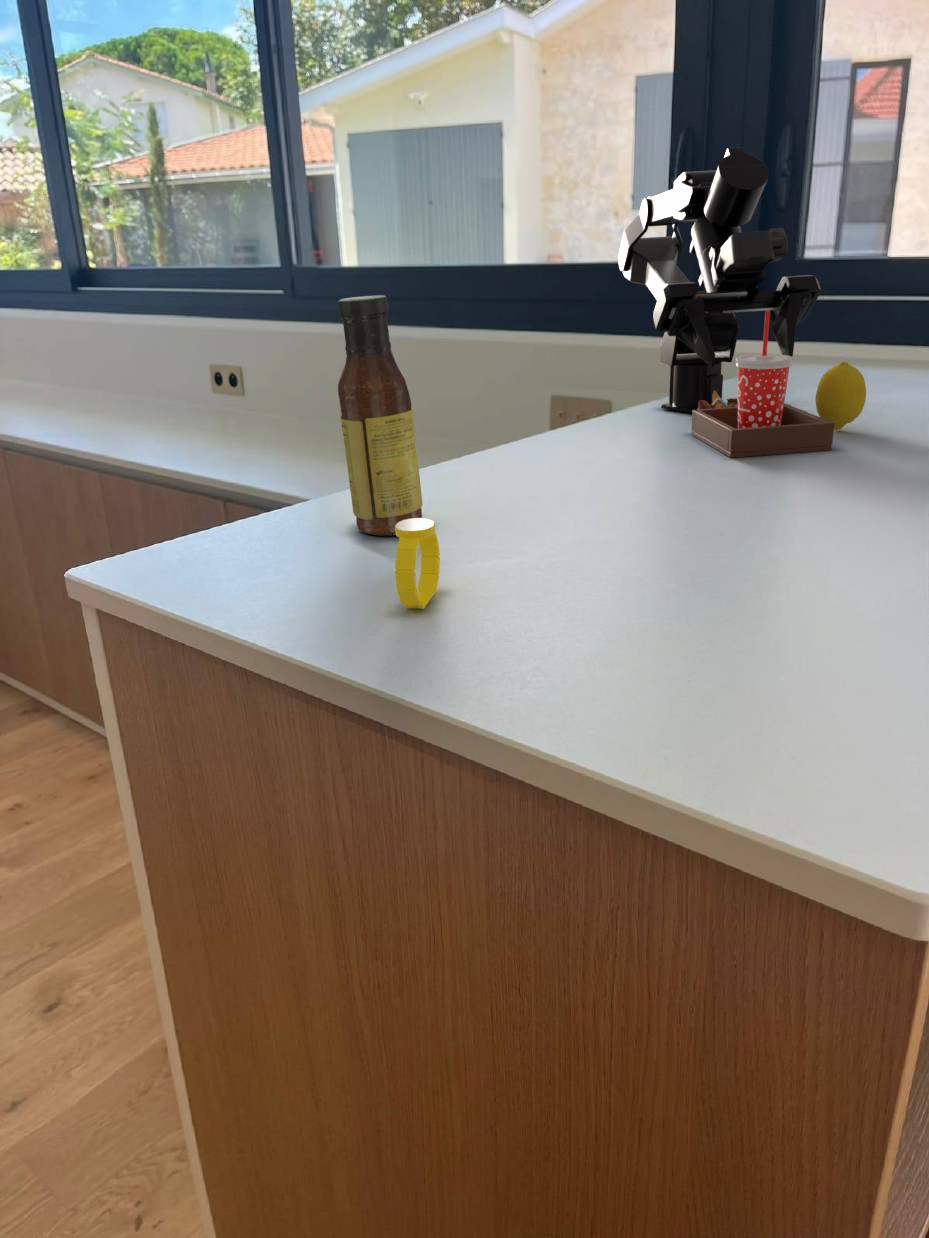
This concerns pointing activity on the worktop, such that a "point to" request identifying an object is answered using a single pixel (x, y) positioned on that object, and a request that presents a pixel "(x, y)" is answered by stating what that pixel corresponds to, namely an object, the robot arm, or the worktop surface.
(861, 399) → the lemon
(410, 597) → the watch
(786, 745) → the worktop surface
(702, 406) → the pastry
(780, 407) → the beverage cup
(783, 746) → the worktop surface
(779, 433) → the tray
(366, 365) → the sauce bottle
